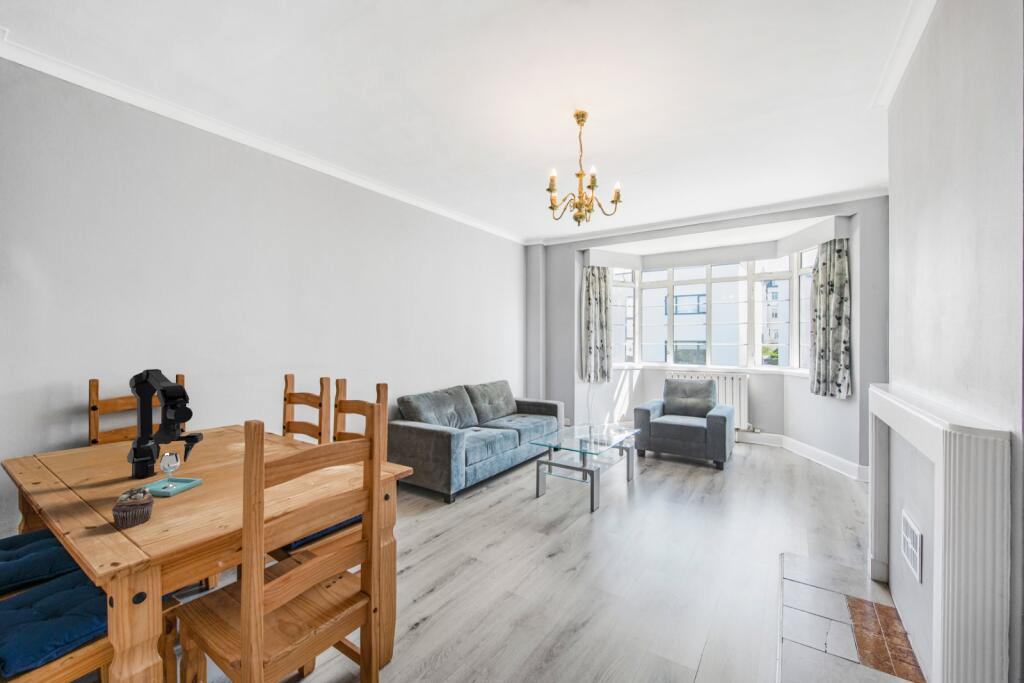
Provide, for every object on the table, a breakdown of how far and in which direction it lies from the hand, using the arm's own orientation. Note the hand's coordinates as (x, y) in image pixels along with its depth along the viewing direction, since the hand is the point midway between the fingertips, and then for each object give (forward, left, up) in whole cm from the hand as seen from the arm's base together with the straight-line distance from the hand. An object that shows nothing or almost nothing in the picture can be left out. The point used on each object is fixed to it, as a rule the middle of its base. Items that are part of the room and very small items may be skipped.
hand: (170, 462), depth 159 cm
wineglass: (0, 0, -9) cm, 9 cm away
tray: (0, 0, -10) cm, 10 cm away
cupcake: (+14, -27, -10) cm, 32 cm away
